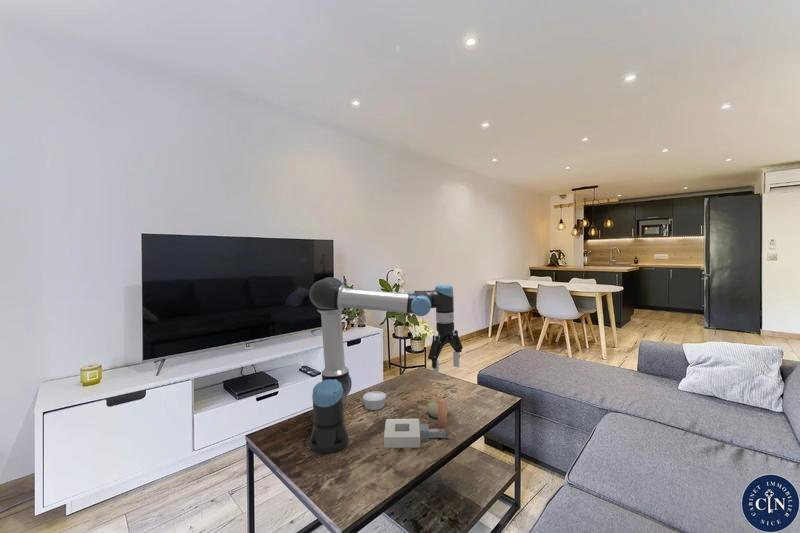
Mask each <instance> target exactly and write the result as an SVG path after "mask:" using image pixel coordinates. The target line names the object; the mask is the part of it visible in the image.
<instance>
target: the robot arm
mask: <svg viewBox="0 0 800 533" xmlns="http://www.w3.org/2000/svg"><path fill="white" fill-rule="evenodd" d="M308 294H309V299H310V302H311V303H312V305H314V306H315V307H316V310H317V311H316V312H318V313H320V316H321V318H320V319H321V331H322V345H323V347H322V348H323V359H324V360H323V361H324V363H323V364H324V368H323V370H322V371H321V381H319V382H318V383H317V384H315V385H314V387H313V389H312V394H311V396H312V397H311V399H312V400H311V401H312V411H313V416H312V417H313V427H312V430H311V435H310V439H309V447H310V450H312V451H313V450H314V451H313V452H315V451H316V452H315V453H317V452H319V453H318V454H323V453H326V454H333V453H336V452H339V451H341V450H343V449H344V448H346V447H347V445H348V443H349V441H350V440H349V432H348V428H347V426H346V424H345V422H344V421H345V420H344V404H345V403H346V400H347V398H348V396H349V394H350V393H351V390H352V382H353V381H352V377H351V375H350V370H349V367H347V366H346V362H345V348H344V334H343V332H344V331H343V320H342V318H343V316H342V311H343V310H345V308H347V309H356V310H357V309H358V310H359V309H360V310H368V311H369V310H370V311H379V312H380V311H381V312H392V313H401V314H402V313H403V314H410V315H411V314H413V315H416V316H418V317H424V316H427V315H428V314H429V313H430V311H431V309H435V321H436V324H435V326H436V329H435V330H436V331H437V335H435V334H434V335H432V340H431V341H432V342H431V346H430V349H429V353H428V355H427V359H428V360H429V361H431V368H432V375H433V376H436V377H439V376H440V366H439V364H440V362H439V360H438V359H439V357H440V354H441V352H442V350H443V347H445V345H447V344H449V346H450V347H451V348H452V350H453V351H452V356H453V359H452V360H453V361H452V362H453V367H455V368H460V358H461V357H460V353H462V350H463V348H464V347H463V345H462V342H461V339H460V337H459V332H458V330H457V329H455V322H454V321H455V316H454V315H455V314H454V312H455V311H454V310H455V308H454V306H455V305H454V298H455V297H454V288H453V286H452V285H451V284H438V285H435V287H434V290H433V289H432V290H411V291H408V292H407V293H402V292H392V291H381V290H370V289H369V290H368V289H361V288H347V287H346V285H345V284H344V282H343V281H342V280H341V279H338V278H336V277H330V276H329V277H324V278H323V279H320V280H318V281H315V282H314V283H313V284H312V286H311V287H310V289H309V293H308Z"/></svg>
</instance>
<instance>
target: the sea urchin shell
mask: <svg viewBox="0 0 800 533" xmlns="http://www.w3.org/2000/svg"><path fill="white" fill-rule="evenodd" d="M427 412H428V415H429V416H431V417H432V418H434V419H438V401H437V402H433V403H431V404H429V406H428V407H427ZM448 413H449V408H448V407H447V415H448Z"/></svg>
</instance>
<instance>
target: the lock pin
mask: <svg viewBox="0 0 800 533" xmlns="http://www.w3.org/2000/svg"><path fill="white" fill-rule="evenodd" d="M448 429H449V428H448ZM448 429H447V427H445V429H438V428H429V439H449V430H448Z"/></svg>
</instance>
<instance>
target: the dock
mask: <svg viewBox="0 0 800 533" xmlns="http://www.w3.org/2000/svg"><path fill="white" fill-rule="evenodd" d="M419 424H420V418H386V419H385V426H384V433H383V449H394V448H395V449H396V448H397V449H400V448H401V449H402V448H403V449H405V448H406V449H407V448H409V449H410V448H413V449H414V448H416V449H417V448H418V449H419V448H421V441H420V427H419Z"/></svg>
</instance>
